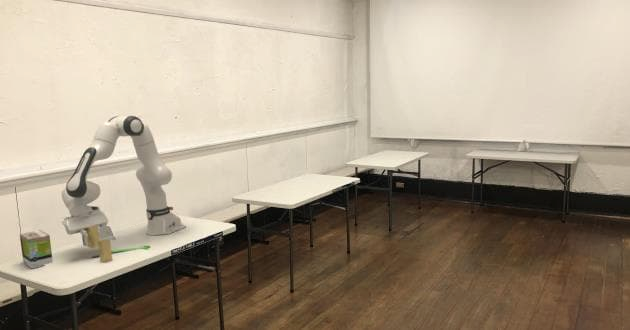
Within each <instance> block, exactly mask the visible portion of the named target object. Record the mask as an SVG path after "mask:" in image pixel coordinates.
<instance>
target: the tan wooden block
mask: <svg viewBox="0 0 630 330" xmlns="http://www.w3.org/2000/svg"><path fill="white" fill-rule="evenodd" d="M111 247H112V246H111V239H110V240H108V239H103V240H100V241H98V253H99V255H100V257H99V261H100V262H102V263H108V262H111V261H113V256H112V255H113V253H111V250H112V248H111Z"/></svg>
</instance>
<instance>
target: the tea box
mask: <svg viewBox="0 0 630 330" xmlns="http://www.w3.org/2000/svg"><path fill="white" fill-rule="evenodd" d="M19 241H20V247H21V248H20V249H21V256H22V261H23V263H24V264H25V265H27V267H29V268H30V269H37V268H40V267H45V266H46V264H50V263H53V262H54V261H53V260H54V259H53V254H52V253H53V252H52V243H51V237H50V234H49V233H47V232H45V231H43V230H41V229H39V230H34V231H28V232H24V233H23V232H22V233H20V234H19Z"/></svg>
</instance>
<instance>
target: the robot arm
mask: <svg viewBox="0 0 630 330" xmlns="http://www.w3.org/2000/svg"><path fill="white" fill-rule="evenodd" d="M120 137H130V138H131V139H132V143H133V147H134V151H135V153H136V156H137V159H138V160H139V161H140V162H141V163H142V165H140V166H139V167H138V168H137V169H136V171H135V177H136V178H137V180H138V181H139V182H140V184H141V187H142V189H143V192H144V196H145V201H146V202H145V203H146V218H147V226H146V227H147V228H146V234H147V235H149V236H160V235H170V234H172V233H176V232H177V231H181V230H183V229H185V228H186V227H187V226H186V224H184V223H182V220H181V218H180V217H179V216H178V215H177V214H176V213H175V214H174V213H173V212H171V211H173V210H174V206H168V203H167V194H166V192H165V191H164V189H163V187H162V186H165V185H168V184H169V183H170V182H171V181H172V179H173V173H172V170H171V169H169V168H168V167H167V166H166V164H165V163H164V161H163V160H162V158H161V156H160V154H159V152H158V149H157V145H156V143H155V138H154V137H153V134H152V131H151V129H150V127H149V125H148V124H146V123H144V122H143V121H142V120H141V118H139V117H137V116H135V115H119V116H118V115H116V116H113V117H111V118H110V119H108V121H103V122H101V123H100V124H99V126H98V128H97V130H96V132H95V134H94V136H93V140H92V141H91V144H90V146H89V147H88V148H86V149H85V151H84V152H83V154H82V156H80V159H79V161H78V164H77V165H76V168H75V170H74V172H73V174H72V175H71V177H70V178H69V179H68V180H67V182H66V186H65V188H63V189H62V192H61V198H62V201H63V203H64V206H65V207H66V208H67V209H68V211H69V212H68V213H69V215H70V216H67V217H64V218H62V220H61V223H62V225H63V226H64V229H65V231H66V233H67V235H69V236H71V235H75V234H79V233H80V235H81V236H82V235H84V236H85V238H89V237H90V235H89V233H86V232H85V231H86V227H89V226H93V225H95V226H98V233H99V235H100V231H99V228H100V227H103V226H108V223H109V219H108V217H107V215H106V214H105V213H104V211H103V210H101V208H100V206H94V205H93V206H91V205H88V204H90V203H93V202H94V201H96V200H98V198H99V197H100V195H101V187H100V185H99V184H97V183H95V182H92V181H90V180H88V179H87V178H88V175H89V173H90V171H91V168H92V166H93V165H94V164H95V163H96V162H98V161H103V160H106V159H109V158H111V157H112V154H113V153H114V150H115V147H116V145H117V141H118V139H119V138H120Z"/></svg>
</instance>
